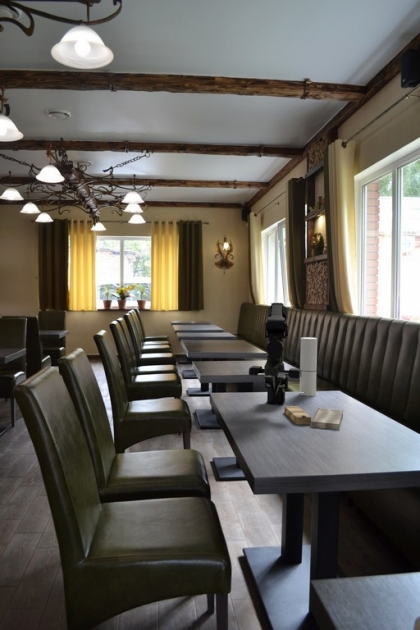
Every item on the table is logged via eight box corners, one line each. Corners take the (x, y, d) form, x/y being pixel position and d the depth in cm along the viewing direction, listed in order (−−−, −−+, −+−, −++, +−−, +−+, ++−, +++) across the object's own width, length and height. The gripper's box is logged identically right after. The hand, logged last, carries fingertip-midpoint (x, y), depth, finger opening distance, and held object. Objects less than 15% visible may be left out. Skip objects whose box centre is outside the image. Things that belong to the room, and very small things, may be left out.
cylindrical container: (314, 393, 212) (316, 337, 211) (316, 396, 204) (318, 339, 203) (298, 392, 212) (300, 337, 211) (300, 395, 205) (301, 338, 204)
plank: (284, 412, 175) (284, 404, 175) (297, 412, 176) (297, 404, 176) (297, 424, 159) (297, 416, 158) (311, 424, 159) (311, 416, 159)
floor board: (311, 426, 157) (311, 421, 157) (317, 412, 176) (318, 407, 175) (339, 429, 154) (339, 423, 154) (342, 415, 173) (343, 410, 173)
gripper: (245, 354, 168) (244, 397, 169) (297, 357, 162) (296, 402, 163) (252, 350, 179) (252, 391, 179) (302, 353, 173) (301, 395, 173)
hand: (274, 395), depth 173 cm, fingers closed
